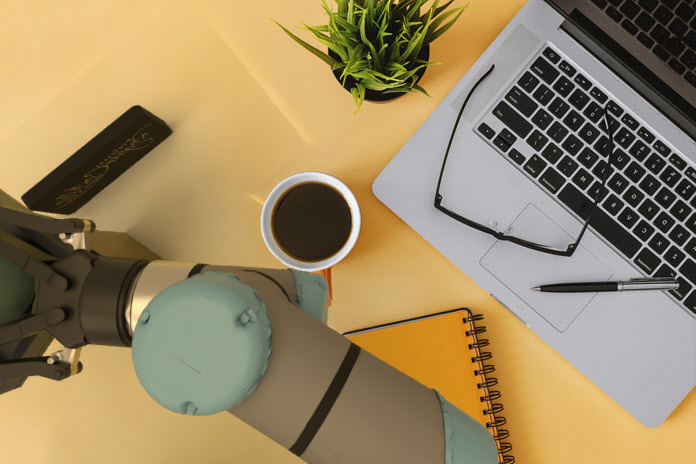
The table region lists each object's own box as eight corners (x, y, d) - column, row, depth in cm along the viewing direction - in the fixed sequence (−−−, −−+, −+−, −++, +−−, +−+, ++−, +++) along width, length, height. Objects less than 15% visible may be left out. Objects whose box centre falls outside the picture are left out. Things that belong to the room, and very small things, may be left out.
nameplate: (167, 122, 76) (136, 102, 66) (174, 132, 76) (144, 113, 66) (63, 206, 76) (17, 199, 66) (70, 215, 76) (25, 209, 66)
